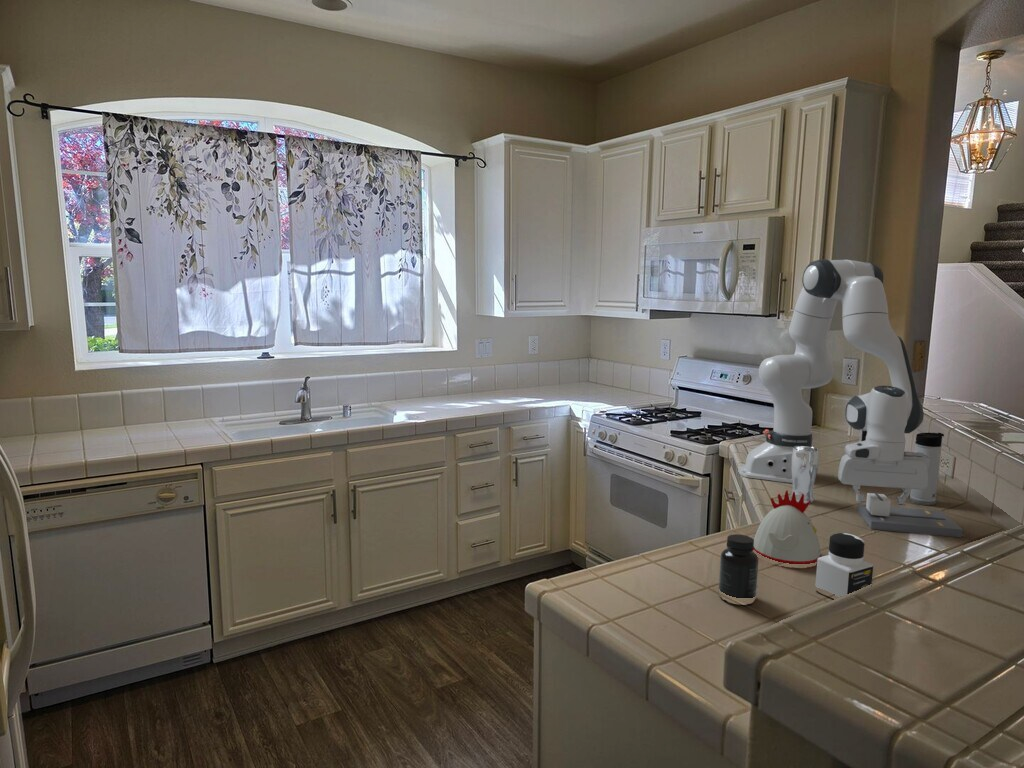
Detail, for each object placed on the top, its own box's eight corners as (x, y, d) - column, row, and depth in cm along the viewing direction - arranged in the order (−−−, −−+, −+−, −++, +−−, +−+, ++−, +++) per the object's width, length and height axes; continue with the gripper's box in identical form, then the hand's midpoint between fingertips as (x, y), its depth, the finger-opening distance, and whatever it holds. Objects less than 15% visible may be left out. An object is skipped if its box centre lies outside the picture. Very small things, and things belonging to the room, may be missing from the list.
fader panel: (870, 529, 167) (871, 520, 166) (857, 511, 180) (857, 503, 180) (961, 537, 162) (962, 529, 161) (940, 518, 175) (941, 510, 175)
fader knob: (871, 515, 170) (873, 499, 169) (865, 507, 176) (867, 492, 175) (889, 516, 169) (890, 500, 168) (882, 508, 175) (884, 493, 174)
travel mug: (940, 506, 185) (948, 435, 182) (914, 504, 186) (921, 434, 183) (931, 499, 191) (938, 431, 188) (906, 497, 192) (912, 429, 189)
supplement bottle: (747, 590, 132) (751, 532, 130) (761, 606, 125) (765, 545, 123) (713, 590, 132) (716, 532, 130) (725, 606, 125) (729, 545, 123)
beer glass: (815, 498, 191) (819, 447, 189) (815, 505, 184) (819, 452, 182) (789, 495, 194) (792, 444, 191) (788, 501, 187) (791, 449, 185)
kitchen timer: (814, 574, 140) (819, 505, 138) (746, 559, 147) (750, 493, 145) (823, 552, 152) (828, 488, 149) (760, 539, 159) (764, 478, 157)
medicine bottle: (846, 607, 125) (852, 546, 124) (814, 591, 132) (818, 533, 130) (871, 599, 129) (876, 539, 127) (838, 584, 135) (843, 527, 133)
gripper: (925, 450, 170) (921, 502, 172) (838, 445, 175) (834, 496, 177) (934, 455, 164) (929, 510, 166) (844, 450, 169) (840, 503, 171)
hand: (880, 502), depth 172 cm, fingers open, 8 cm apart
